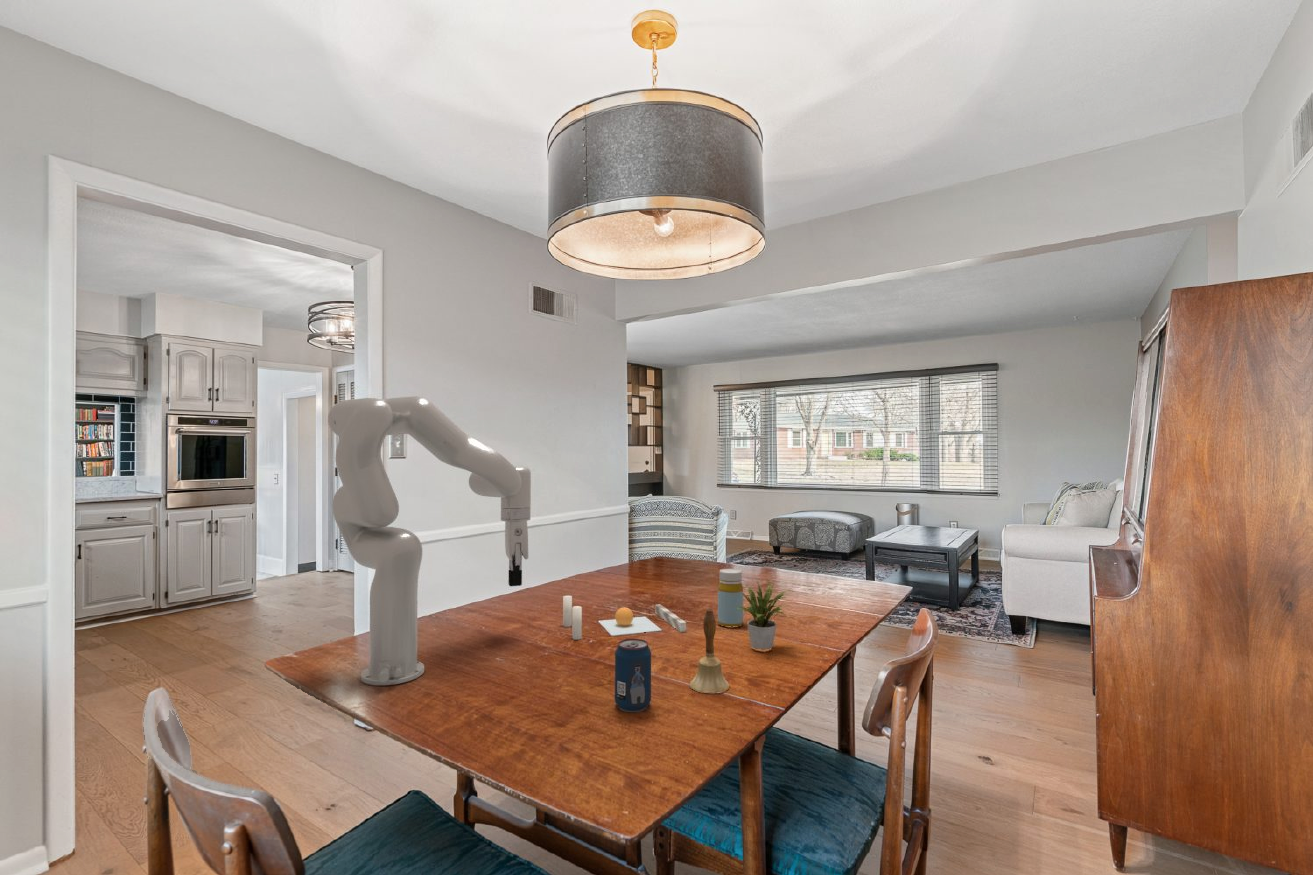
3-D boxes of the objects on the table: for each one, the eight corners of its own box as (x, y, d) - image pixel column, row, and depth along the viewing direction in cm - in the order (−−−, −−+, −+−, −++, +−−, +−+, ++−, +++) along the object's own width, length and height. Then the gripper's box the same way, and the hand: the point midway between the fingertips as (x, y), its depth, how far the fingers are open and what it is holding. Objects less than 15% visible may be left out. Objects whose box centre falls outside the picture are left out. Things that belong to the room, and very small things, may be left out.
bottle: (742, 621, 176) (742, 568, 176) (743, 629, 169) (743, 573, 169) (717, 620, 176) (718, 568, 176) (717, 628, 169) (718, 573, 169)
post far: (572, 626, 170) (572, 597, 170) (563, 627, 169) (564, 597, 169) (570, 623, 172) (570, 595, 172) (562, 624, 172) (562, 595, 172)
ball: (633, 629, 169) (637, 611, 170) (616, 626, 168) (620, 608, 168) (627, 624, 174) (631, 607, 174) (611, 621, 172) (615, 603, 173)
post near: (582, 639, 159) (582, 607, 159) (573, 640, 158) (573, 608, 158) (580, 636, 161) (580, 605, 161) (571, 637, 160) (571, 606, 160)
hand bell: (731, 694, 124) (731, 615, 124) (690, 694, 124) (690, 614, 125) (727, 679, 133) (728, 604, 133) (688, 678, 133) (689, 603, 133)
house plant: (793, 662, 143) (793, 591, 143) (733, 658, 145) (733, 588, 146) (792, 643, 157) (792, 578, 157) (737, 639, 159) (737, 575, 160)
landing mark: (661, 630, 167) (661, 630, 167) (611, 636, 162) (611, 635, 162) (644, 617, 180) (644, 616, 180) (598, 621, 175) (598, 620, 175)
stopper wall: (686, 631, 166) (686, 622, 166) (680, 632, 165) (680, 623, 165) (660, 612, 185) (660, 604, 185) (655, 613, 184) (655, 604, 184)
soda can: (631, 695, 124) (631, 635, 124) (658, 705, 119) (658, 642, 119) (607, 706, 118) (607, 643, 118) (634, 717, 114) (634, 651, 114)
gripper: (534, 517, 155) (534, 590, 155) (526, 510, 169) (525, 578, 169) (504, 518, 152) (503, 592, 152) (497, 511, 166) (497, 580, 166)
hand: (515, 585), depth 160 cm, fingers closed
